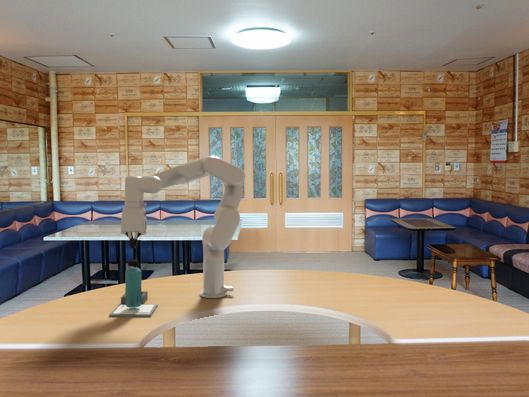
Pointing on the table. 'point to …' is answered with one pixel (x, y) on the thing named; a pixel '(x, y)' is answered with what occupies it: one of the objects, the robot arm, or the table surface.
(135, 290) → the beverage bottle
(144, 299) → the button housing
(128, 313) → the drawing board
